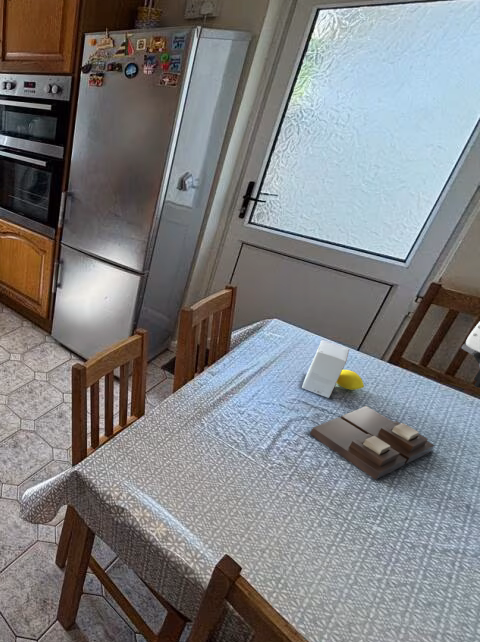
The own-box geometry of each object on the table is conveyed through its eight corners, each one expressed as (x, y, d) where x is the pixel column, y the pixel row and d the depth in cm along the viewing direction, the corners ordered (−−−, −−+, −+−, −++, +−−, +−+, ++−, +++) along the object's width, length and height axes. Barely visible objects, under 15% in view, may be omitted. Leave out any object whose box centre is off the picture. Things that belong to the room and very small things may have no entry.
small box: (329, 398, 115) (346, 361, 109) (301, 388, 119) (317, 351, 113) (332, 384, 120) (349, 348, 115) (306, 375, 124) (321, 339, 119)
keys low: (430, 451, 98) (438, 439, 97) (405, 464, 95) (413, 452, 94) (362, 411, 110) (368, 400, 109) (338, 422, 107) (343, 410, 106)
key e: (387, 451, 95) (390, 445, 94) (378, 455, 94) (382, 450, 93) (371, 440, 97) (374, 435, 96) (362, 444, 96) (365, 439, 96)
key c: (416, 437, 98) (419, 432, 97) (407, 441, 97) (411, 436, 96) (399, 428, 101) (402, 422, 100) (391, 431, 100) (394, 426, 99)
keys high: (402, 466, 95) (410, 453, 93) (375, 479, 92) (383, 467, 90) (335, 423, 107) (341, 411, 105) (309, 434, 104) (315, 422, 102)
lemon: (326, 383, 121) (332, 368, 119) (335, 377, 123) (342, 362, 121) (355, 397, 115) (362, 382, 113) (364, 391, 117) (372, 376, 115)
